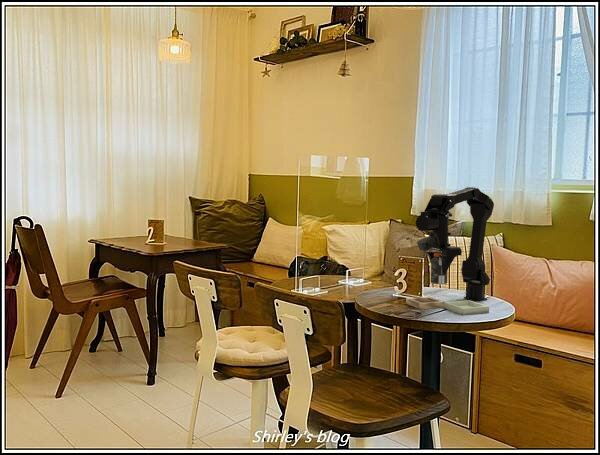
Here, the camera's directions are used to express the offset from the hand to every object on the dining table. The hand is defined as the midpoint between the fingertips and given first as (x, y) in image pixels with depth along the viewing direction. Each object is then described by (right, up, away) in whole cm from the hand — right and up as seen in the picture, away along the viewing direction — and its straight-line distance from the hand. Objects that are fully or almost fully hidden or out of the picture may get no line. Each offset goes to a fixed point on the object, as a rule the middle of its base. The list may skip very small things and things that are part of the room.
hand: (439, 272), depth 210 cm
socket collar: (-4, -12, +3) cm, 14 cm away
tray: (+9, -13, -4) cm, 16 cm away
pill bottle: (0, -4, 0) cm, 4 cm away
